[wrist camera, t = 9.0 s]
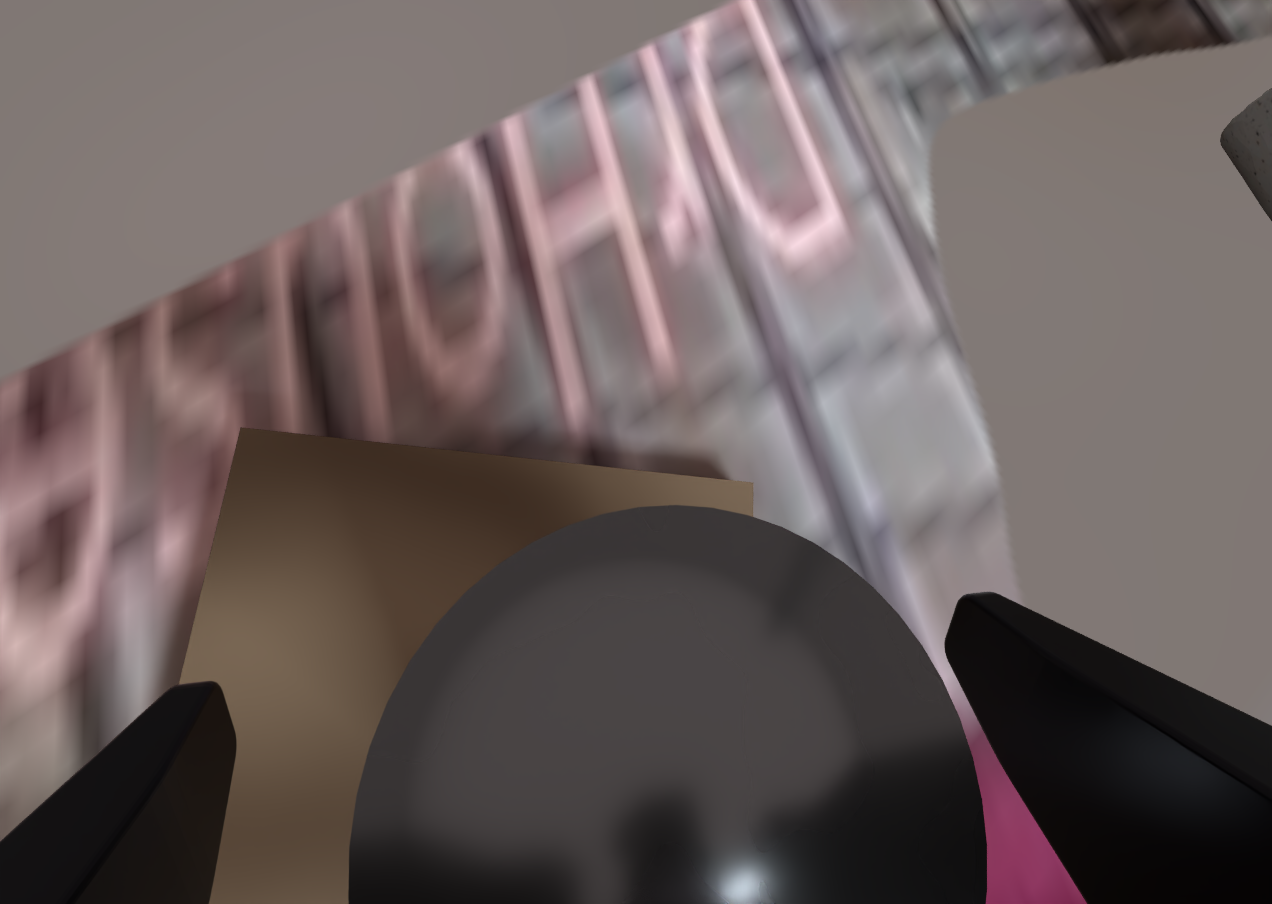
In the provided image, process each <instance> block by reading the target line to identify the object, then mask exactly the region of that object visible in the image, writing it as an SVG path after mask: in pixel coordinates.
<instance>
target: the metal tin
mask: <svg viewBox="0 0 1272 904" xmlns="http://www.w3.org/2000/svg"><path fill="white" fill-rule="evenodd" d="M986 893H987V842H986V833H985V823H984V814H983V805H982V798H981V793H980V789H979V784H978V780H977V775H976V770H975V766H974V761H973V757H972V754H971V751H970V748H969V745H968V742H967V739H966V736H965V733H964V730H963V727H962V724H961V721H960V718H959V716H958V713H957V711H956V709H955V707H954V704H953V702H952V700H951V698H950V696H949V693H948V691H947V689H946V687H945V685H944V682H943V680H942V679H941V677H940V675H939V673H938V672H937V670H936V668H935V667H934V665H933V663H932V662H931V660H930V658H929V656H928V655H927V653H926V651H925V650H924V648H923V646H922V645H921V644H920V642H919V641H918V640H917V638H916V637H915V636H914V634H913V633H912V632H911V630H910V629H909V628H908V626H907V625H906V624H905V622H904V621H903V620H902V618H901V617H900V615H899V614H898V613H897V612H896V611H895V610H894V609H893V608H892V607H891V606H890V605H889V604H888V603H887V602H886V600H885V599H884V598H883V597H882V596H881V595H880V594H879V593H878V592H877V591H876V590H875V589H874V588H873V587H872V586H871V585H870V584H869V583H867V582H866V581H865V580H864V579H863V578H862V577H860V576H859V575H858V574H857V573H856V572H854V571H853V570H852V569H851V568H850V567H848V566H847V565H846V564H845V563H844V562H842V561H840V560H839V559H837V558H836V557H834V556H833V555H831V554H830V553H828V552H827V551H825V550H824V549H822V548H821V547H819V546H818V545H816V544H815V543H813V542H811V541H809V540H807V539H805V538H803V537H801V536H799V535H797V534H795V533H793V532H791V531H789V530H787V529H785V528H783V527H780V526H777V525H775V524H772V523H769V522H766V521H763V520H760V519H757V518H754V517H751V516H749V515H745V514H740V513H735V512H730V511H726V510H721V509H716V508H710V507H697V506H684V505H666V506H647V507H637V508H631V509H626V510H621V511H615V512H610V513H605V514H601V515H598V516H595V517H592V518H589V519H586V520H583V521H580V522H577V523H574V524H571V525H568V526H565V527H563V528H561V529H559V530H557V531H555V532H553V533H551V534H549V535H547V536H544V537H542V538H540V539H538V540H536V541H534V542H532V543H530V544H529V545H527V546H526V547H524V548H523V549H521V550H520V551H518V552H517V553H515V554H513V555H512V556H510V557H509V558H507V559H506V560H504V561H503V562H501V563H500V564H498V565H497V566H496V567H494V568H493V569H492V570H491V571H490V572H489V573H487V574H486V575H485V576H484V577H483V578H481V579H480V580H479V581H478V582H477V583H476V584H474V585H473V586H472V587H471V588H470V589H469V590H467V591H466V592H465V593H464V594H463V595H462V596H461V598H460V599H459V600H458V601H457V602H456V603H455V604H454V605H453V606H452V607H451V608H450V609H449V611H448V612H447V613H446V614H445V615H444V616H443V617H442V618H441V619H440V620H439V621H438V623H437V624H436V625H435V626H434V628H433V629H432V631H431V632H430V633H429V635H428V636H427V638H426V639H425V640H424V642H423V643H422V645H421V646H420V647H419V649H418V650H417V652H416V653H415V654H414V656H413V657H412V659H411V660H410V661H409V663H408V665H407V667H406V669H405V671H404V672H403V674H402V676H401V678H400V680H399V682H398V683H397V685H396V687H395V689H394V691H393V693H392V694H391V696H390V698H389V700H388V702H387V704H386V707H385V709H384V712H383V714H382V717H381V719H380V722H379V724H378V727H377V729H376V732H375V734H374V737H373V739H372V742H371V744H370V747H369V750H368V754H367V758H366V762H365V765H364V769H363V773H362V777H361V780H360V784H359V788H358V792H357V795H356V802H355V809H354V816H353V824H352V831H351V838H350V845H349V889H348V901H349V904H985V903H986Z"/></svg>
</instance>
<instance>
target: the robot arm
mask: <svg viewBox="0 0 1272 904" xmlns="http://www.w3.org/2000/svg"><path fill="white" fill-rule="evenodd" d="M945 653H946V656H947V659H948V662H949V664H950V666H951V668H952V670H953V671H954V673H955V675H956V677H957V679H958V681H959V683H960V685H961V687H962V689H963V691H964V693H965V695H966V697H967V699H968V701H969V703H970V705H971V707H972V709H973V711H974V713H975V715H976V717H977V719H978V721H979V723H980V725H981V727H982V729H983V731H984V733H985V735H986V737H987V739H988V741H989V743H990V745H991V747H992V749H993V751H994V753H995V754H996V756H997V758H998V760H999V762H1000V764H1001V765H1002V767H1003V769H1004V770H1005V772H1006V774H1007V776H1008V777H1009V779H1010V781H1011V782H1012V784H1013V785H1014V787H1015V789H1016V790H1017V792H1018V793H1019V795H1020V797H1021V798H1022V800H1023V801H1024V803H1025V805H1026V806H1027V808H1028V810H1029V811H1030V813H1031V814H1032V816H1033V818H1034V819H1035V821H1036V822H1037V824H1038V826H1039V827H1040V829H1041V830H1042V832H1043V834H1044V835H1045V837H1046V838H1047V840H1048V842H1049V843H1050V845H1051V846H1052V848H1053V850H1054V851H1055V853H1056V854H1057V856H1058V858H1059V859H1060V861H1061V862H1062V864H1063V866H1064V867H1065V869H1066V870H1067V872H1068V874H1069V875H1070V877H1071V878H1072V880H1073V882H1074V883H1075V885H1076V886H1077V888H1078V890H1079V891H1080V893H1081V894H1082V896H1083V898H1084V899H1085V901H1086V902H1087V904H1272V726H1271V725H1269V724H1267V723H1265V722H1262V721H1261V720H1258V719H1256V718H1254V717H1252V716H1250V715H1248V714H1246V713H1244V712H1242V711H1240V710H1238V709H1236V708H1234V707H1231V706H1229V705H1227V704H1225V703H1223V702H1221V701H1219V700H1217V699H1215V698H1213V697H1211V696H1208V695H1206V694H1205V693H1202V692H1200V691H1198V690H1196V689H1194V688H1192V687H1190V686H1188V685H1186V684H1184V683H1181V682H1180V681H1177V680H1175V679H1173V678H1171V677H1169V676H1167V675H1165V674H1163V673H1161V672H1159V671H1157V670H1155V669H1153V668H1151V667H1148V666H1146V665H1144V664H1142V663H1140V662H1138V661H1136V660H1134V659H1132V658H1130V657H1128V656H1126V655H1124V654H1122V653H1119V652H1117V651H1115V650H1113V649H1111V648H1109V647H1107V646H1105V645H1103V644H1100V643H1099V642H1097V641H1094V640H1092V639H1090V638H1088V637H1086V636H1084V635H1082V634H1080V633H1078V632H1076V631H1074V630H1072V629H1070V628H1067V627H1065V626H1063V625H1061V624H1059V623H1057V622H1055V621H1053V620H1051V619H1049V618H1047V617H1044V616H1043V615H1041V614H1039V613H1036V612H1034V611H1032V610H1030V609H1028V608H1026V607H1024V606H1022V605H1020V604H1018V603H1016V602H1014V601H1012V600H1009V599H1007V598H1005V597H1003V596H1001V595H999V594H997V593H994V592H980V593H972V594H966V595H963V596H962V597H961V598H960V599H959V600H958V602H957V605H956V608H955V611H954V614H953V617H952V620H951V623H950V626H949V629H948V632H947V635H946V638H945ZM236 751H237V739H236V733H235V729H234V726H233V722H232V719H231V716H230V713H229V710H228V706H227V703H226V700H225V697H224V693H223V690H222V688H221V686H220V685H219V684H218V683H217V682H214V681H203V682H194V683H186V684H179V685H176V686H173V687H172V688H170V689H169V690H167V691H166V692H165V693H164V694H163V695H162V696H161V697H159V698H158V699H157V700H156V701H155V702H154V703H153V704H152V705H151V706H149V707H148V708H147V709H146V710H145V711H144V712H143V713H142V714H141V715H139V716H138V717H137V718H136V719H135V720H134V721H133V722H132V723H131V724H129V725H128V726H127V727H126V728H125V729H124V730H123V731H122V732H121V733H120V734H118V735H117V736H116V737H115V738H114V739H113V740H112V741H111V742H110V743H108V744H107V745H106V746H105V747H104V748H103V749H102V750H101V751H100V752H98V753H97V754H96V755H95V756H94V757H93V758H92V759H91V760H90V761H89V762H87V763H86V764H85V765H84V766H83V767H82V768H81V769H80V770H79V771H77V772H76V773H75V774H74V775H73V776H72V777H71V778H70V779H69V780H67V781H66V782H65V783H64V784H63V785H62V786H61V787H60V788H59V789H58V790H56V791H55V792H54V793H53V794H52V795H51V796H50V797H49V798H48V799H46V800H45V801H44V802H43V803H42V804H41V805H40V806H39V807H38V808H36V809H35V810H34V811H33V812H32V813H31V814H30V815H29V816H28V817H26V818H25V819H24V820H23V821H22V822H21V823H20V824H19V825H18V826H17V827H15V828H14V829H13V830H12V831H11V832H10V833H9V834H8V835H7V836H5V837H4V838H3V839H2V840H1V841H0V904H209V901H210V897H211V892H212V887H213V882H214V877H215V871H216V865H217V860H218V854H219V849H220V843H221V837H222V832H223V826H224V821H225V815H226V809H227V804H228V798H229V792H230V787H231V781H232V776H233V770H234V764H235V759H236Z"/></svg>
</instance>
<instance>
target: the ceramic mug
mask: <svg viewBox="0 0 1272 904" xmlns="http://www.w3.org/2000/svg"><path fill="white" fill-rule="evenodd" d="M1220 142H1221V146H1222V147H1223V149H1224V150H1225V152H1226V153H1227V155H1228V156H1229V158H1230V159H1231V161H1232V162H1233V164H1234V165H1235V167H1236V168H1237V170H1238V171H1239V173H1240V174H1241V176H1242V177H1243V179H1244V180H1245V182H1246V183H1247V185H1248V187H1249V188H1250V190H1251V191H1252V193H1253V194H1254V196H1255V197H1256V199H1257V200H1258V202H1259V204H1260V205H1261V206H1262V208H1263V210H1264V211H1265V212H1266V214H1267V215H1268V216H1269V218H1270V219H1271V221H1272V88H1271V89H1269V90H1268V91H1266V92H1265V93H1264V94H1263V95H1262V96H1261V97H1259V98H1258V99H1257V100H1255V101H1254V102H1252V103H1251V104H1250V105H1248V106H1247V107H1246V109H1245V110H1244V111H1243V112H1241V113H1240V114H1239V115H1237V116H1236V117H1235V118H1233V119H1232V121H1231V122H1230V123H1229V124H1228V125H1227V127H1226V128H1225V129H1224V131H1223V132H1222V134H1221V139H1220Z"/></svg>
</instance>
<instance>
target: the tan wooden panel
mask: <svg viewBox="0 0 1272 904" xmlns="http://www.w3.org/2000/svg"><path fill="white" fill-rule="evenodd" d="M666 505H684V506H697V507H710V508H716V509H721V510H726V511H730V512H735V513H740V514H745V515H749V516H751V517H753V483H751V482H742V481H733V480H723V479H714V478H705V477H695V476H686V475H677V474H668V473H658V472H649V471H640V470H630V469H621V468H612V467H602V466H593V465H584V464H575V463H565V462H556V461H547V460H537V459H528V458H519V457H510V456H500V455H491V454H482V453H472V452H463V451H454V450H445V449H435V448H426V447H417V446H407V445H398V444H389V443H380V442H370V441H361V440H352V439H342V438H333V437H324V436H315V435H305V434H296V433H287V432H277V431H268V430H259V429H250V428H240V432H239V437H238V441H237V445H236V449H235V453H234V457H233V461H232V466H231V470H230V474H229V478H228V482H227V486H226V490H225V495H224V499H223V503H222V507H221V511H220V515H219V520H218V524H217V528H216V532H215V536H214V540H213V544H212V549H211V553H210V557H209V561H208V565H207V569H206V573H205V578H204V582H203V586H202V590H201V594H200V598H199V602H198V607H197V611H196V615H195V619H194V623H193V627H192V632H191V636H190V640H189V644H188V648H187V652H186V656H185V661H184V665H183V669H182V673H181V677H180V681H179V684H186V683H194V682H203V681H214V682H217V683H218V684H219V685H220V686H221V688H222V690H223V693H224V697H225V700H226V703H227V706H228V710H229V713H230V716H231V719H232V722H233V726H234V729H235V733H236V739H237V751H236V759H235V764H234V770H233V776H232V781H231V787H230V792H229V798H228V804H227V809H226V815H225V821H224V826H223V832H222V837H221V843H220V849H219V854H218V860H217V865H216V871H215V877H214V882H213V887H212V892H211V897H210V901H209V904H349V901H348V889H349V845H350V838H351V831H352V824H353V816H354V809H355V802H356V795H357V792H358V788H359V784H360V780H361V777H362V773H363V769H364V765H365V762H366V758H367V754H368V750H369V747H370V744H371V742H372V739H373V737H374V734H375V732H376V729H377V727H378V724H379V722H380V719H381V717H382V714H383V712H384V709H385V707H386V704H387V702H388V700H389V698H390V696H391V694H392V693H393V691H394V689H395V687H396V685H397V683H398V682H399V680H400V678H401V676H402V674H403V672H404V671H405V669H406V667H407V665H408V663H409V661H410V660H411V659H412V657H413V656H414V654H415V653H416V652H417V650H418V649H419V647H420V646H421V645H422V643H423V642H424V640H425V639H426V638H427V636H428V635H429V633H430V632H431V631H432V629H433V628H434V626H435V625H436V624H437V623H438V621H439V620H440V619H441V618H442V617H443V616H444V615H445V614H446V613H447V612H448V611H449V609H450V608H451V607H452V606H453V605H454V604H455V603H456V602H457V601H458V600H459V599H460V598H461V596H462V595H463V594H464V593H465V592H466V591H467V590H469V589H470V588H471V587H472V586H473V585H474V584H476V583H477V582H478V581H479V580H480V579H481V578H483V577H484V576H485V575H486V574H487V573H489V572H490V571H491V570H492V569H493V568H494V567H496V566H497V565H498V564H500V563H501V562H503V561H504V560H506V559H507V558H509V557H510V556H512V555H513V554H515V553H517V552H518V551H520V550H521V549H523V548H524V547H526V546H527V545H529V544H530V543H532V542H534V541H536V540H538V539H540V538H542V537H544V536H547V535H549V534H551V533H553V532H555V531H557V530H559V529H561V528H563V527H565V526H568V525H571V524H574V523H577V522H580V521H583V520H586V519H589V518H592V517H595V516H598V515H601V514H605V513H610V512H615V511H621V510H626V509H631V508H637V507H647V506H666Z"/></svg>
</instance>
